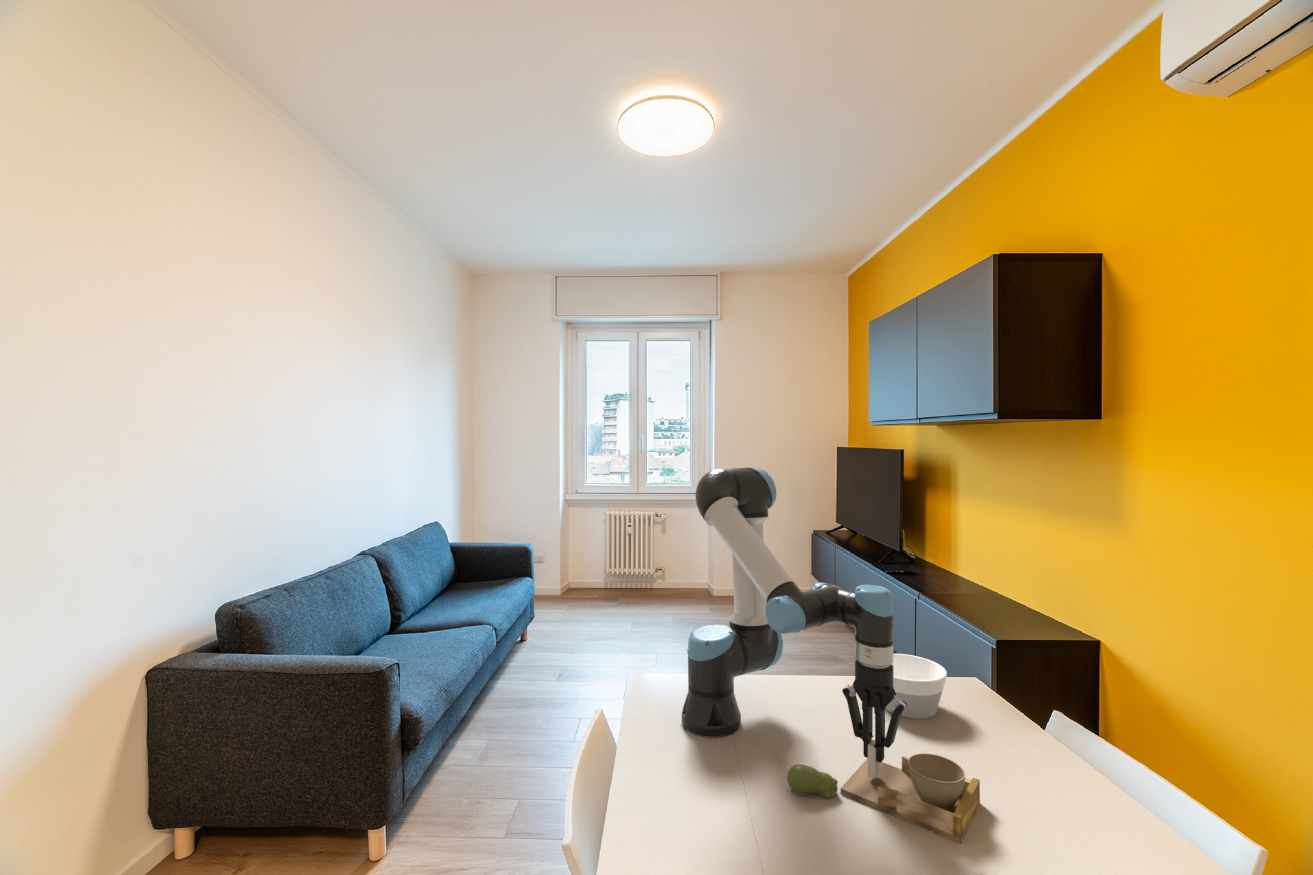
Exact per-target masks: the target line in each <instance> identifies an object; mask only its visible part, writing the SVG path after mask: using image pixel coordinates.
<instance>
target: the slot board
mask: <svg viewBox="0 0 1313 875" xmlns="http://www.w3.org/2000/svg"><path fill="white" fill-rule="evenodd" d="M909 758H910V757H907V756H906V755H903V756H901V768H900V767H897V766H894V765H891V764H889V763H886V762H883V761H882V762H881V763H880V773H879V774H878V776H877V777H876V778H875V779H874V778H871V777H869V776H868V758H866V759H865V760H864V762H863V763H861V765H860V766H859V767H858V768H857V769H856V771H855V772H854V773H853V774H852V775H851V776H850V777H849V778H848V780H846V782H845V783H843V785H842V786H841V787H840V794H841V795H844V796H846V797H849V798H852V799H854V800H856V801H859V802H860V803H863V804H865V805H868V806H870V807H872V808H874V809H877V810H880V811H881V812H885V813H886V814H889V815H891V816H894V817H896V818H898V819H901V820H902V821H906V822H908V823H911V824H913V825H915V826H917V827H920V828H923V829H925V830H927V831H929V832H933V833H935V834H937V835H939V836H941V837H944V838H946V839H948V840H951V841H953V842H956V843H957V844H960V845H961V844H962V842H963V840H964V838H965V836H966V834H967V832H968V829H969V827H970V825H971V823H972V821H973V818H974V816H975V814H976V812H977V810H978V808H979V806H980V803H981V795H980V794H981V789H980V788H981V786H980V782H981V781H980V779H978V778H975V777H972V778H967V777H965V781H964V786H963V789H962V792H961V794H960V797H959V798H958V800H957V802H956V803H955V805H954V806H953V807H952V808H951V810H949V811H947V810H944V809H941V808H939V807H936V806H934V805H931V804H929V803H926V802H924V801H921V799H920V798H919V796H918V794H917V792H916V790H915V788H914V785H913V782H912V780H911V776H910V772H909V767H908V759H909Z"/></svg>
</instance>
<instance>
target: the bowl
mask: <svg viewBox="0 0 1313 875" xmlns="http://www.w3.org/2000/svg"><path fill="white" fill-rule="evenodd" d="M892 665H893V688H894V690H895V693H896V697H897V698H898V699H899V700H901V701H905V702H906V703H907V707H906V708H905V709H904V710H903V711H902V714H901V717H903V718H908V719H915V720H916V719H918V720H919V719H921V720H922V719H929V718H932V717H934V716H936V714H937V712H938V709H939V705H940V701H941V698H942V695H943V694H942V693H943V690H944V687H945V683H946V681H947V680H946V679H947V676H948V673H947V669H946V668H945V667H943V666H942V665H941V664H939V663H937V662H936V661H933V660H931V659H928V658H925V657H922V656H917V655H913V654H905V653H893V664H892ZM892 705H893V702H892V701H891V702H890V703H889V704H888V705H887V706H886V710H885V711H887V712H889V713H891V714H892V713H893V711H894V709H893V707H892Z"/></svg>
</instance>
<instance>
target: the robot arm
mask: <svg viewBox="0 0 1313 875" xmlns="http://www.w3.org/2000/svg"><path fill="white" fill-rule="evenodd" d="M695 489H696V490H695V503H696V507H697V510H698V512H699V514H700V516H701V517H702V519H703V520H704V521H705V523H706V524H707V525H708V526H710V527H714V529H715V530H716V532H717V534H718V535H719V536H720V537H721V539H722V541H723V542H724V543H725V545H726V546H727V548H728V549H729V550H730V552H731V557H732V582H733V583H732V584H733V603H734V604H733V606H734V608H733V609H734V613H732V614H731V615H730V617H729V618H728V619H729V620H728V623H729V625H725V624H713V625H712V624H708V625H702V626H700V627H698V628H695V629H694V630H692V631H691V633H690V634H689V637H688V642H687V643H688V644H687V648H686V649H687V650H686V651H687V673H688V674H687V676H688V677H687V683H688V685H687V686H688V688H687V694H686V697H685V701H684V704H683V707H682V711H681V724H683V725H682V727H683V728H685V730H687V731H688V732H690V733H692V734H694V735H698V736H702V737H706V738H721V737H726V736H730V735H732V734H734V733H737V731H739V729H740V728H741V726H742V715H741V711H740V709H739V708H740V707H739V705H738V701H737V698H736V695H735V687H734V686H735V678H736V677H740V676H743V675H746V674H750V673H754V672H758V671H759V672H760V671H764V670H767V669H768V668H770V667H772V666H773V667H774V665H776V664H777V663H778V662H779V661H780V659H781V657H782V655H783V651H784V641H783V636H782V635H784V634H791V633H792V634H793V633H799V632H801V631H804V630H807V629H812V628H815V627H820V626H825V625H830V624H833V623H839V624H842V625H845V626H848V627H851V628H854V657H855V660H854V681H853V683H852V684H851V685H850V684H847V685H846V686H845V687H844V688H843V689H842V690H841V692H842V694H843V696H844V698H845V699H846V703H847V707H848V712H849V716H850V721H851V725H852V726H851V727H852V729H853V735H854V736H855V738H859V739H861V740H862V744H863V745H862V746H863V748H862V749H863V753H862V754H863V757H864V758H866V759H867V758H868V776H869V777H871V778H874V779H875V778H876V777H877V776H878V774H879V773H880V763H881V762H883V761H884V759H885V748H887V749H889V748H890V747H891V746H892V745H893V744H894V742H895V738H896V735H897V732H898V728H899V725H900V721H901V717H902V716H901V714H902V711H903V710H904V709H905V708H906V707H907V703H906V702H905V701H901V700H899V699H898V698H897V697H896V693H895V690H894V688H893V665H892V664H893V654H894V615H895V608H894V596H893V593H892V591H891V590H890V589H888V588H887V587H885V586H880V585H874V584H860V585H858V586H856V588H855V590H852V589H848V588H845V587H841V586H838V585H836V584H833V583H826V582H815V584H814V585H813V586H811V587H810V588H809V590H807V591H802V590H801V589H800V588H799V586H798V585H797V584H796V582H795V581H794V580H793V579H792V577H791V576H790V575H789V574H788V573H787V571H786V569H785V568H784V567H783V566H782V564H781V563H780V562H779V561H778V559H777V558H776V556H775V555H774V554H773V552H772V551H771V550H770V548H769V547H768V546H767V544H766V543H765V542H764V541H765V540H764V522H766V520H767V519H768V518H769V509H770V508H772V507H773V506H774V504H775V503H776V499H777V487H776V483H775V481H774V479H773V478H772V476H771V475H770V474H769V473H768V471H766V470H764V469H763V468H760V467H759V468H758V467H749V466H748V467H738V468H736V467H735V468H734V467H733V468H732V467H731V468H715V469H712V470H710V471H708V472H706V473H705V474H704V475H703V476H702V477H701V478H700V480H699V482H698V483H697V486H696V488H695ZM858 698H859V700H860V701H861V710H862V714H861V710H860V706H859V701H858ZM891 701H892V702H893V705H892V707H893V709H894V711H893V713H891V716H890V720H889V723H888V728H887V732H886V711H887V710H886V706H887V705H888V704H889V703H890V702H891ZM873 711H874V712H873ZM874 714H875V715H874ZM873 715H874V718H873ZM873 719H874V722H873ZM873 723H874V726H873ZM873 727H874V734H873ZM873 737H874V739H873Z"/></svg>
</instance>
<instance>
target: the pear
mask: <svg viewBox="0 0 1313 875" xmlns="http://www.w3.org/2000/svg"><path fill="white" fill-rule="evenodd" d="M786 777H787V778H786V780H787V784H788V788H789V789H790V790H791V791H792V792H793V793H795V794H796V795H800V796H806V795H811V794H814V793H815V794H816V793H817V794H820V795H821V796H822V797H824V798H825V799H826V800H827V799H829V800H831V799H832V800H833V799H834V798H835V797H836V794H837V792H838V780H837V779H836V778H834V777H833V776H832V775H831V774H829V773H827V772H823V771H819V770H818V769H816V768H815V767H813V766H810V765H807V764H800V763H798V764H797V763H795V764H793V765H792V766H790V768H789V769H788V771H787V775H786Z"/></svg>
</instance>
